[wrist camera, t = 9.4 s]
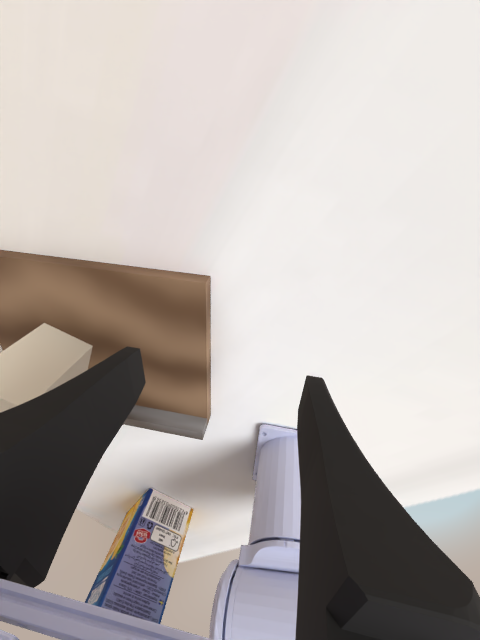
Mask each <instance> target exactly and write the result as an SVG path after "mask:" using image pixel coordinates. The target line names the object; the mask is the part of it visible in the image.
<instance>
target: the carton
mask: <svg viewBox="0 0 480 640" xmlns="http://www.w3.org/2000/svg"><path fill="white" fill-rule="evenodd" d="M92 347H93V346H92V345H90V344H88V343H86V342H83V341H81V340H79V339H77V338H75V337H73V336H71V335H69V334H67V333H65V332H63V331H60V330H58V329H56V328H54V327H52V326H50V325H48V324H46V323H43V324H42V325H40V326H39V327H37V328H36V329H34V330H33V331H32V332H30V333H29V334H27V335H26V336H24V337H23V338H21V339H20V340H18V341H17V342H15V343H14V344H12V345H11V346H10V347H8V348H7V349H5V350H4V351H2V352H1V353H0V413H1V412H3V411H6V410H8V409H11V408H13V407H16V406H18V405H20V404H23V403H25V402H27V401H29V400H32V399H34V398H36V397H38V396H40V395H42V394H44V393H46V392H48V391H50V390H52V389H54V388H56V387H58V386H60V385H62V384H63V383H65V382H67V381H69V380H71V379H72V378H74V377H76V376H78V375H80V374H81V373H83V372H85V371H87V370H88V366H89V361H90V357H91V352H92Z"/></svg>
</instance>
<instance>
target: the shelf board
mask: <svg viewBox="0 0 480 640" xmlns="http://www.w3.org/2000/svg"><path fill="white" fill-rule="evenodd" d="M43 323H46V324H48V325H50V326H52V327H54V328H56V329H58V330H60V331H63V332H65V333H67V334H69V335H71V336H73V337H75V338H77V339H79V340H81V341H83V342H86V343H88V344H90V345H92V346H93V347H92V352H91V357H90V361H89V366H88V369H90V368H92V367H93V366H95V365H97V364H98V363H100V362H102V361H103V360H105V359H106V358H108V357H110V356H111V355H113V354H115V353H116V352H118V351H120V350H121V349H123V348H125V347H127V346H128V347H134V348H140V351H141V357H142V363H143V369H144V375H145V381H146V383H145V386H144V388H143V390H142V392H141V394H140V396H139V398H138V400H137V402H136V404H135V406H134V407H133V409H132V411H131V412H130V414H129V415H128V417H127V418H126V420H125V422H124V423H123V424H125V425H130V426H135V427H140V428H145V429H150V430H155V431H160V432H165V433H170V434H175V435H180V436H185V437H190V438H195V439H200V440H203V437H204V434H205V431H206V428H207V425H208V422H209V419H210V416H211V343H210V276H205V275H197V274H189V273H181V272H173V271H165V270H157V269H149V268H141V267H133V266H125V265H117V264H109V263H101V262H93V261H85V260H77V259H69V258H60V257H52V256H44V255H36V254H28V253H20V252H12V251H4V250H0V345H1V347H2V349H3V351H4V350H5V349H7V348H8V347H10V346H11V345H12V344H14V343H15V342H17V341H18V340H20V339H21V338H23V337H24V336H26V335H27V334H29V333H30V332H32V331H33V330H34V329H36V328H37V327H39V326H40V325H42V324H43Z"/></svg>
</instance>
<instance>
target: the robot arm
mask: <svg viewBox="0 0 480 640" xmlns="http://www.w3.org/2000/svg"><path fill="white" fill-rule="evenodd" d="M145 383H146V381H145V375H144V369H143V363H142V357H141V351H140V348H134V347H128V346H127V347H125V348H123V349H121V350H120V351H118V352H116V353H115V354H113V355H111V356H110V357H108V358H106V359H105V360H103V361H102V362H100V363H98V364H97V365H95V366H93V367H92V368H90V369H88V370H87V371H85V372H83V373H81V374H80V375H78V376H76V377H74V378H72V379H71V380H69V381H67V382H65V383H63V384H62V385H60V386H58V387H56V388H54V389H52V390H50V391H48V392H46V393H44V394H42V395H40V396H38V397H36V398H34V399H32V400H29V401H27V402H25V403H23V404H20V405H18V406H16V407H13V408H11V409H8V410H6V411H3V412H1V413H0V621H3V622H6V623H9V624H12V625H16V626H19V627H22V628H26V629H29V630H32V631H35V632H38V633H42V634H45V635H48V636H51V637H55V638H58V639H61V640H480V597H479V595H478V593H477V591H476V589H475V587H474V585H473V583H472V581H470V579H469V578H468V577H467V576H466V575H465V574H464V573H463V572H462V571H461V570H460V569H459V568H458V567H457V566H456V565H455V564H454V563H453V562H452V561H451V560H450V559H449V558H448V557H447V556H446V555H445V554H444V553H443V552H442V551H441V550H440V549H439V548H438V547H437V545H436V544H435V543H434V542H433V541H432V540H431V539H430V538H429V537H428V536H427V535H426V534H425V532H424V531H423V530H422V529H421V528H420V527H419V526H418V525H417V523H416V522H415V521H414V520H413V519H412V518H411V516H410V515H409V514H408V513H407V512H406V510H405V509H404V508H403V507H402V505H401V504H400V503H399V502H398V501H397V499H396V498H395V497H394V496H393V495H392V493H391V492H390V491H389V490H388V488H387V487H386V486H385V484H384V483H383V482H382V480H381V479H380V478H379V476H378V475H377V474H376V472H375V471H374V469H373V468H372V467H371V465H370V464H369V462H368V461H367V459H366V458H365V456H364V455H363V453H362V452H361V450H360V449H359V447H358V446H357V444H356V442H355V441H354V439H353V437H352V436H351V434H350V432H349V431H348V429H347V427H346V425H345V423H344V422H343V420H342V418H341V416H340V414H339V412H338V410H337V408H336V406H335V404H334V402H333V400H332V398H331V396H330V394H329V391H328V389H327V387H326V384H325V382H324V380H323V379H322V378H319V377H313V376H306V380H305V384H304V388H303V392H302V397H301V401H300V405H299V409H298V425H297V430H293V429H288V428H282V427H277V426H272V425H266V424H263V425H261V426H260V429H259V436H258V443H257V450H256V457H255V464H254V470H253V477H252V478H253V480H255V481H256V489H255V497H254V505H253V512H252V520H251V528H250V536H249V544H248V545H241V550H240V557H239V560H237V559H236V560H233V561H232V562H231V563H230V564H229V565H228V567H227V569H226V570H225V571H224V573H223V574H222V576H221V578H220V581H219V583H218V586H217V590H216V594H215V598H214V603H213V608H212V615H211V623H210V638H206V637H202V636H199V635H196V634H192V633H189V632H185V631H182V630H178V629H175V628H171V627H168V626H164V625H161V624H157V623H154V622H150V621H147V620H143V619H140V618H136V617H133V616H129V615H126V614H122V613H119V612H115V611H112V610H108V609H105V608H101V607H98V606H95V605H91V604H88V603H84V602H80V601H77V600H74V599H70V598H67V597H63V596H60V595H56V594H53V593H49V592H45V591H42V590H39V589H35V588H34V587H36V586H37V585H39V584H40V583H41V582H43V581H44V580H45V578H46V575H47V573H48V570H49V568H50V566H51V563H52V561H53V559H54V556H55V554H56V552H57V549H58V547H59V544H60V542H61V539H62V537H63V535H64V533H65V531H66V528H67V526H68V524H69V522H70V520H71V517H72V515H73V513H74V511H75V509H76V507H77V505H78V503H79V501H80V499H81V496H82V494H83V492H84V490H85V488H86V486H87V484H88V482H89V480H90V478H91V476H92V475H93V473H94V471H95V469H96V467H97V465H98V463H99V461H100V459H101V458H102V456H103V454H104V453H105V451H106V449H107V448H108V446H109V445H110V443H111V441H112V440H113V438H114V437H115V435H116V434H117V432H118V431H119V429H120V428H121V426H122V425H123V423H124V422H125V420H126V418H127V417H128V415H129V414H130V412H131V411H132V409H133V407H134V406H135V404H136V402H137V400H138V398H139V396H140V394H141V392H142V390H143V388H144V386H145ZM0 640H19V639H18V638H17V637H16V636H15V635H13V634H10V633H7V632H5V631H3V630H0Z"/></svg>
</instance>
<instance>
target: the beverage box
mask: <svg viewBox="0 0 480 640" xmlns="http://www.w3.org/2000/svg"><path fill="white" fill-rule="evenodd" d="M192 513H193V508H191V507H189V506H187V505H185V504H183V503H181V502H179V501H177V500H175V499H173V498H171V497H169V496H166V495H164V494H162V493H160V492H158V491H156V490H154V489H152V488H149V489H148V491H147V492H146V493H145V494H144V495H143V496H142V497H141V498H140V499H139V500H138V501H137V503H136V504H135V505H134V506H133V507H132V508H131V509H130V510H129V511H128V512H127V514H126V516H125V518H124V520H123V522H122V525H121V527H120V529H119V531H118V533H117V535H116V537H115V540H114V542H113V544H112V546H111V548H110V550H109V552H108V554H107V556H106V559H105V561H104V563H103V565H102V567H101V569H100V571H99V573H98V575H97V578H96V580H95V582H94V584H93V586H92V588H91V591H90V592H89V594H88V597H87V599H86V601H85V603H88V604H91V605H95V606H98V607H101V608H105V609H108V610H112V611H115V612H119V613H122V614H126V615H129V616H133V617H136V618H140V619H143V620H147V621H150V622H154V623H157V624H160V622H161V619H162V615H163V612H164V609H165V605H166V601H167V598H168V595H169V591H170V588H171V584H172V581H173V578H174V574H175V571H176V567H177V564H178V561H179V557H180V554H181V550H182V547H183V544H184V540H185V537H186V533H187V530H188V526H189V523H190V520H191V516H192Z"/></svg>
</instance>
